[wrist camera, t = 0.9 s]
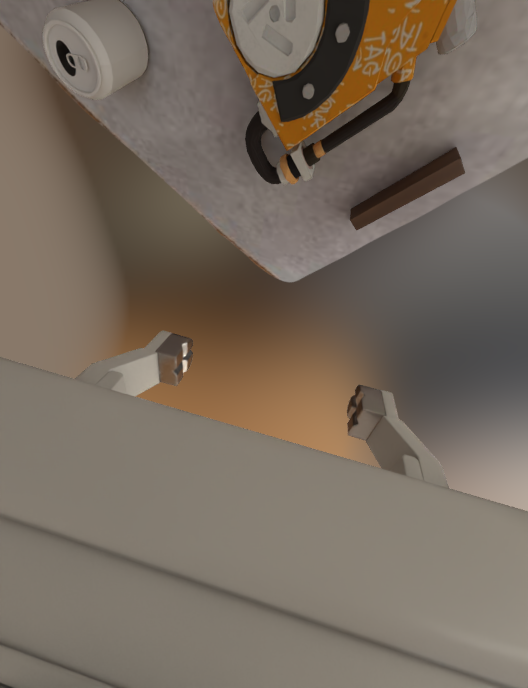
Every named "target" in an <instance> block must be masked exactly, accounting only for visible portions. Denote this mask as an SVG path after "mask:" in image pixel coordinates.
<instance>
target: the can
mask: <svg viewBox="0 0 528 688" xmlns="http://www.w3.org/2000/svg"><path fill="white" fill-rule="evenodd" d="M42 39H43V46H44V50H45V53H46V56H47V59H48V61H49V63H50V65H51V67H52V69H53V70H54V71H55V73H56V74H57V76H58V77H59V79H60V80H61V81H62V82H63V83H64V84H65V85H66V86H67V87H68V88H69V89H71V90H72V91H73V92H75V93H76V94H78V95H81V96H83V97H87V98H90V99H92V100H102V99H104V98H105V97H107V96H109V95H110V94H112V93H114V92H115V91H117V90H119V89H120V88H122V87H124V86H125V85H127V84H129V83H130V82H132V81H134V80H135V79H137V78H138V77H140V76H142V75H143V73H144V71H145V70H146V68H147V62H148V49H147V44H146V40H145V36H144V33H143V31H142V29H141V27H140V25H139V23H138V21H137V19H136V18H135V17H134V15H133V14H132V12H131V11H130V10H129V9H128V8H127V7H126V6H125V5H124V4H123V3H121V2H120V1H118V0H90V1H85V2H81V3H76V4H72V5H68V6H63V7H59V8H55V9H53V10H52V11H51V12H50V13H49V14H47V18H46V21H45V24H44V28H43V32H42Z"/></svg>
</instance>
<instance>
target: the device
mask: <svg viewBox="0 0 528 688" xmlns="http://www.w3.org/2000/svg"><path fill="white" fill-rule="evenodd" d="M213 7H214V10H215V13H216V16H217V18H218V20H219V23H220V25H221V27H222V29H223V31H224V32H225V34H226V36H227V38H228V39H229V41H230V43H231V45H232V47H233V49H234V51H235V53H236V54H237V56H238V58H239V60H240V62H241V64H242V66H243V67H244V69H245V71H246V73H247V75H248V77H249V79H250V81H251V82H250V84H251V86H252V87H253V89H254V91H255V93H256V95H257V97H258V99H259V100H260V101H259V102H258V103H257V105H258V110H259V111H258V112H257V113H256V114H255V115H254V117H253V118H252V120H251V121H250V123H249V125H248V128H247V131H246V138H245V140H246V147H247V152H248V154H249V157H250V159H251V161H252V163H253V165H254V167H255V169H256V170H257V172H258V173H259V174H260V176H261V177H262V178H263V179H264V180H265V181H267V182H269V183H271V184H279V183H282V184H283V185H286V184H288V183H291V184H295V183H296V182H297V181H298V179H299V176H302V178H303V179H304V181H305V182H306V181H308V180H309V179H311V178H312V177H313V172H314V168H315V163H316V162H318V161H319V160H320V157H321V156H323V155H325V154H326V153H327V152H329V151H330V150H332V149H333V148H335V147H336V146H338V145H340V144H341V143H343V142H344V141H346V140H347V139H349V138H351V137H352V136H354V135H355V134H357V133H359V132H360V131H362V130H363V129H365V128H366V127H368V126H370V125H371V124H373V123H374V122H376V121H377V120H379V119H381V118H382V117H384V116H385V115H387V114H388V113H390V112H392V111H393V110H394V109H395V108H396V107H397V106H398V104H399V103H400V102H401V101H402V99H403V97H404V96H405V94H406V92H407V90H408V87H409V84H410V81H411V79H412V78H413V75H414V69H415V63H416V57H417V56H418V55H419V54H420V53H422V52H423V51H425V50H426V49H427V48H428V46H429V44H430V43H433V42H436V45H437V49H438V53H439V54H440V55H441V54H448V53H450V52H452V51H453V50H455V49H457V48H458V47H460V46H462V45H463V44H465V43H466V42H467V41H468V40H469V39H470V38H471V37H472V36H473V35H474V34H475V32H476V29H477V15H476V6H475V0H213ZM319 36H320V38H319ZM318 39H319V40H318ZM317 41H318V42H317ZM391 74H392V77H391V81H392V82H393V83H394V85H393V89H392V92H391V93H390V94H389V95H388V96H387V97H385V98H384V99H382V100H381V101H379V102H378V103H376V104H375V105H373V106H372V107H370V108H369V109H367V110H366V111H364V112H363V113H361V114H360V115H358V116H357V117H355V118H354V119H352V120H351V121H349V122H348V123H346V124H345V125H343V126H342V127H340V128H339V129H337V130H336V131H334V132H333V133H331V134H330V135H328V136H327V137H326V138H324V139H323V140H320V141H318V142H317V143H316V144H314V143H312V144H310V145H309V146H307V147H306V145H305V143H304V141H303V140H304V139H306V138H307V137H309V136H310V135H311V134H313V133H314V132H316V131H317V130H318V129H320V128H321V127H323V126H324V125H326V124H327V123H328V122H330V121H331V120H333V119H334V118H336V117H337V116H339V115H340V114H341V113H343V112H344V111H346V110H347V109H349V108H350V107H352V106H353V105H354V104H356V103H357V102H359V101H360V100H362V99H363V98H364V97H366V96H367V95H369V94H370V93H371V92H373V91H374V90H375V88H376V85H377V84H378V83H380V82H381V81H383V80H384V79H385V78H387V77H388V76H390V75H391ZM267 129H269V130H271V131H272V133H273V135H274V136H275V138H276V137H277V136H279V138H280V140H281V141H282V143H283V145H284V147H285V149H286V151H288V150H289V149H291V148H292V147H293V149H292V151H291V154H290V155H289V154H285V155H283V156H281V158H280V162H278V163H277V167H276V168H275V167H273V166H272V165H271V164H270V162H269V161H268V159H267V157H266V155H265V153H264V151H263V149H262V146H261V136H262V134H263V133H264V132H265V130H267Z"/></svg>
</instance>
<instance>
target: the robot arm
mask: <svg viewBox="0 0 528 688" xmlns="http://www.w3.org/2000/svg"><path fill="white" fill-rule="evenodd" d="M192 346H193V340H192V339H190V338H187V337H183V336H180V335H177V334H173V333H170V332H166V331H161V332H160V333H159V334H158V335H157V336H156V337H155V338H154V339H153V340H152V341H151V342H150V343H149V344H148V345H147V346H146V347H145V348H144V349H143V348H140V349H137V350H134V351H130V352H127V353H124V354H121V355H118V356H115V357H112V358H109V359H105V360H102V361H99V362H96V363H93V364H91V365H90V366H89V367H88V368H87V369H85V370H84V371H83V372H82V373H81V374H80V375H79V376H78V377H76V378H75V379H73V378H69V377H66V376H63V375H59V374H56V373H52V372H49V371H46V370H42V369H39V368H35V367H32V366H29V365H25V364H22V363H18V362H15V361H12V360H9V359H5V358H2V357H0V688H528V511H525V510H521V509H518V508H514V507H510V506H508V505H504V504H501V503H497V502H494V501H490V500H487V499H483V498H480V497H477V496H473V495H470V494H466V493H463V492H460V491H456V490H453V489H449V487H448V484H447V480H446V477H445V474H444V471H443V468H442V465H441V463H440V462H439V461H438V460H437V459H436V458H435V457H434V456H433V455H432V453H431V452H430V451H429V450H428V449H427V448H426V447H425V446H424V445H423V443H422V442H421V441H420V440H419V439H418V438H417V437H416V436H415V435H414V434H413V432H412V431H411V430H410V429H409V428H408V427H407V426H406V425H405V424H404V422H403V421H401V420H399V419H398V414H397V410H396V406H395V402H394V397H393V394H392V393H391V392H387V391H383V390H377V389H374V388H370V387H367V386H363V385H358V386H357V387H356V389H355V395H354V396H352V397H351V399H350V401H349V404H348V409H347V416H348V418H349V419H350V420H349V422H348V423H347V424H348V435H349V436H352V437H356V438H359V439H362V440H365V441H366V443H367V444H368V446H369V448H370V449H371V451H372V453H373V454H374V456H375V458H376V460H377V461H378V463H379V465H380V466H381V468H382V469H381V468H378V467H374V466H370V465H367V464H364V463H360V462H357V461H354V460H350V459H346V458H343V457H340V456H336V455H333V454H329V453H326V452H323V451H319V450H315V449H312V448H308V447H305V446H302V445H299V444H295V443H292V442H289V441H285V440H282V439H278V438H275V437H272V436H268V435H265V434H261V433H258V432H254V431H251V430H248V429H244V428H240V427H237V426H234V425H230V424H227V423H223V422H220V421H217V420H213V419H210V418H206V417H203V416H199V415H196V414H192V413H189V412H185V411H182V410H179V409H175V408H172V407H169V406H165V405H162V404H158V403H155V402H152V401H148V400H145V399H141V398H138V397H135V396H136V395H138V394H140V393H142V392H143V391H146V390H147V389H149V388H151V387H153V386H155V385H157V384H158V383H160V382H163V383H167V384H171V385H174V386H177V385H178V384H179V382H180V381H181V379H182V378H183V372H186V371H187V370H188V369H189V367H190V365H191V362H192V357H193V353H192V351H191V350H190V349H191V347H192Z"/></svg>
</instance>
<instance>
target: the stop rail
mask: <svg viewBox="0 0 528 688" xmlns="http://www.w3.org/2000/svg"><path fill="white" fill-rule="evenodd" d="M464 173H465V171H464V167H463V164H462V161H461V157H460V155H459V152H458V150H457V148H456V147H455V148H454V149H452V150H450V151H449V152H447V153H445V154H444V155H442V156H440V157H438V158H437V159H435V160H433V161H432V162H430V163H428V164H427V165H425V166H423V167H421V168H420V169H418V170H416V171H415V172H413V173H411V174H410V175H408V176H406V177H405V178H403V179H401V180H399V181H398V182H396V183H394V184H393V185H391V186H389V187H388V188H386V189H384V190H382V191H381V192H379V193H377V194H376V195H374V196H372V197H371V198H369V199H367V200H365V201H364V202H362V203H360V204H359V205H357V206H355V207H354V208H352V209H351V214H350V221H351V222H352V224H353V226H354V227H355V229H356V230H358V229H360V228H362V227H364V226H366V225H368V224H370V223H372V222H374V221H375V220H377V219H379V218H381V217H383V216H385V215H387V214H389V213H391V212H392V211H394V210H396V209H398V208H400V207H402V206H404V205H406V204H408V203H409V202H411V201H413V200H415V199H417V198H419V197H421V196H423V195H425V194H426V193H428V192H430V191H432V190H434V189H436V188H438V187H440V186H442V185H443V184H445V183H447V182H449V181H451V180H453V179H455V178H457V177H459V176H460V175H462V174H464Z"/></svg>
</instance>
